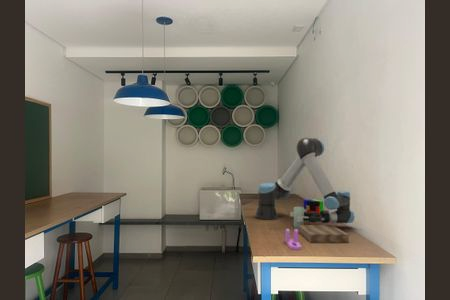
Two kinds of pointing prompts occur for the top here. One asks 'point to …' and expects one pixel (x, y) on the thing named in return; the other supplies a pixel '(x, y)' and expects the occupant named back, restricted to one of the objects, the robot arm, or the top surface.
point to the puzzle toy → (313, 206)
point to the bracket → (292, 240)
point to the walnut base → (323, 233)
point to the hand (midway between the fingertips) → (293, 216)
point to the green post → (298, 213)
